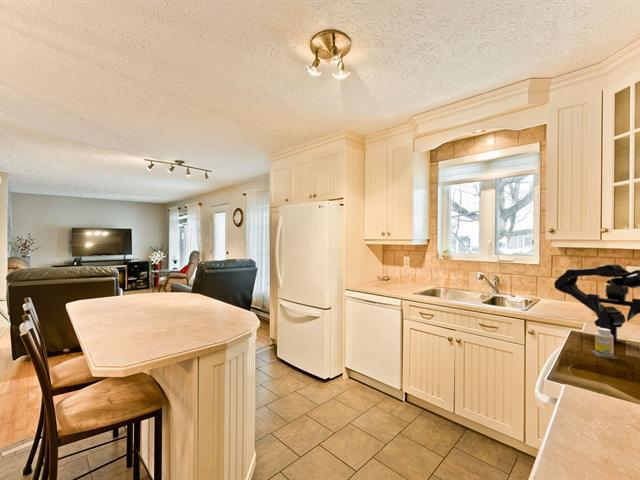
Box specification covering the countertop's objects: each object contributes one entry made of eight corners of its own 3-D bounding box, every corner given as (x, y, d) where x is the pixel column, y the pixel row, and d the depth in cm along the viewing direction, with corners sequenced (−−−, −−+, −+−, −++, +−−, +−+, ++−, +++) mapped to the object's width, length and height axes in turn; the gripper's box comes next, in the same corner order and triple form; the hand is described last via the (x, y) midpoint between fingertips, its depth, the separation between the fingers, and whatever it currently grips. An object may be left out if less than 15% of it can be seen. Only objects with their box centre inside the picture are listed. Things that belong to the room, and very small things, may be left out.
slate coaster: (591, 351, 127) (591, 350, 127) (610, 353, 124) (610, 352, 124) (598, 356, 121) (598, 355, 121) (617, 359, 119) (617, 358, 119)
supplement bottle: (603, 351, 126) (603, 326, 126) (617, 356, 120) (617, 330, 120) (591, 351, 125) (591, 327, 125) (605, 356, 120) (605, 331, 120)
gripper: (587, 276, 139) (580, 303, 133) (646, 280, 124) (641, 311, 118) (592, 291, 144) (585, 318, 137) (649, 297, 129) (645, 327, 122)
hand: (612, 318), depth 129 cm, fingers open, 9 cm apart
